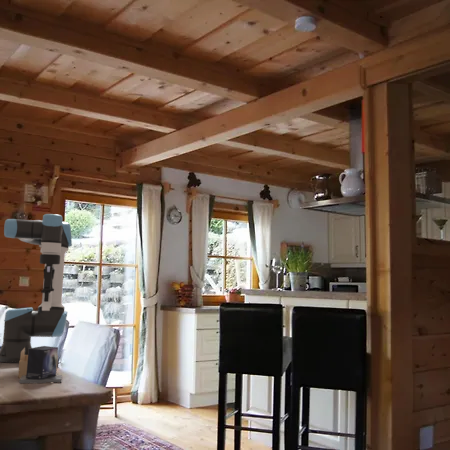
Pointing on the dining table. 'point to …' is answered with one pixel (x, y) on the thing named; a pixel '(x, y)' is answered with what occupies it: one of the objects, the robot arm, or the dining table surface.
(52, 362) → the small box
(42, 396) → the dining table surface
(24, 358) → the carton
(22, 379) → the board
